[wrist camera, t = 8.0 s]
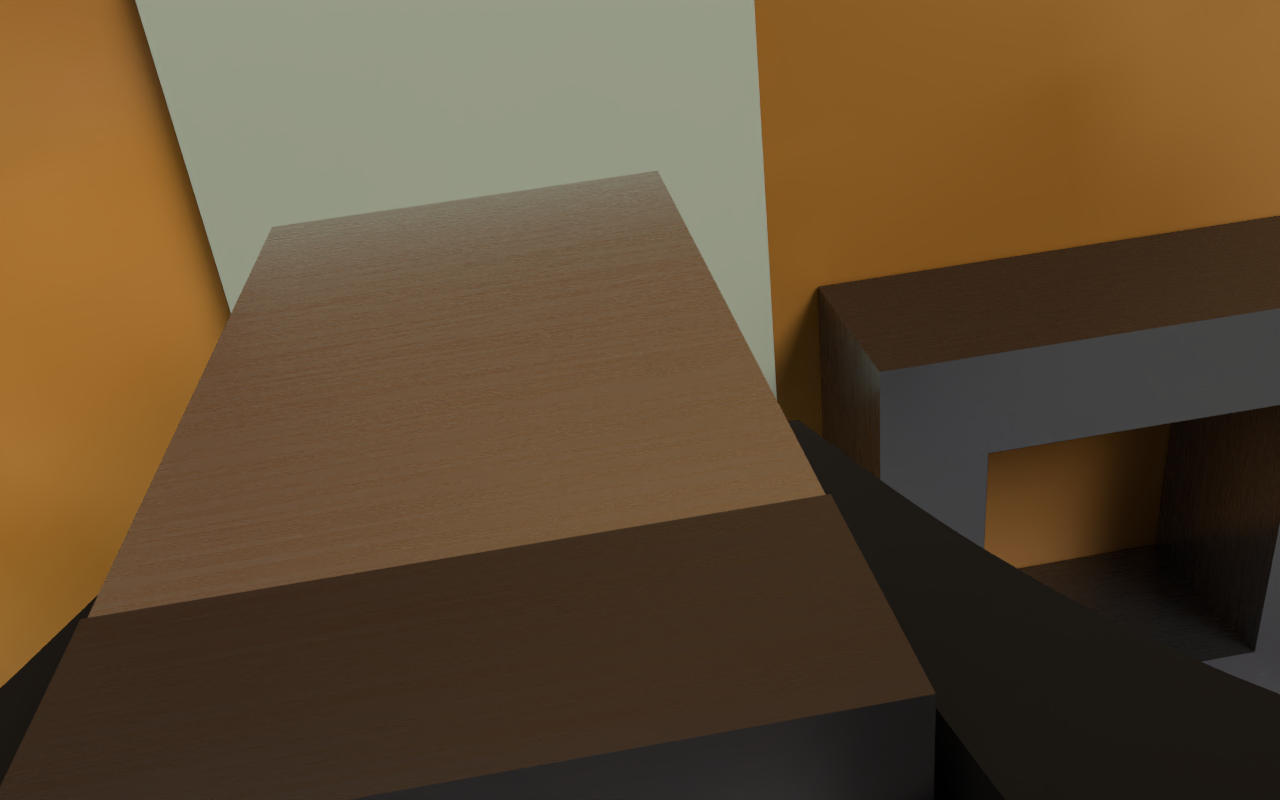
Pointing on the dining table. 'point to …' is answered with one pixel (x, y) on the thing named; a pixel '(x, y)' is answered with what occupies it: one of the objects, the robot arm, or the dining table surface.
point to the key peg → (485, 541)
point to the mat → (467, 115)
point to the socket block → (1090, 411)
